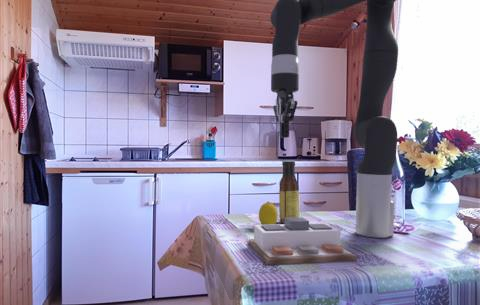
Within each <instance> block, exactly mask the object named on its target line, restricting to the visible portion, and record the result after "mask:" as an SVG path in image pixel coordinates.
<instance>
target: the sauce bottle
mask: <svg viewBox="0 0 480 305" xmlns="http://www.w3.org/2000/svg"><path fill="white" fill-rule="evenodd" d="M281 164H282V177H281V179H280V181H279V183H278V184H279V191H278V195H279V196H278V197H279V198H278V199H279V204H278V205H279V206H278V207H279V221H280V224H281V223H282V224H285V218H293V217H300V190H299V189H300V188H299V182H298V180H297V177H296V172H295V171H296V170H295V166H296V161H295V160H283V161H282V162H281Z"/></svg>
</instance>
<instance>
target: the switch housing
mask: <svg viewBox="0 0 480 305" xmlns="http://www.w3.org/2000/svg"><path fill="white" fill-rule="evenodd" d="M316 224H325V225H327V226H329V227H331V228H332V229H329V230H313V229H311V228H310V227H309V230H289V229H287V228H286V227H284V226H285V224H284V223H282V224H281V223H280V224H279V223H278V224H276V223H275V224H272V225H280V226H282V227H283V228H285V231H265V230H264V229H263V228H261V225H262V224H254V225H253V239H254V242H255V243H256V244H257V245H258V246H259V247H260V249H261V250H262V251H268V250H272V247H275V246H288V247H290V248H291V249H292V250H294V249H297V246H303V245H313V246H315V247H316V248H317V249H320V248H322V245H331V244H337V245H339V246H341V236H342V235H341V234H342V233H341V231H342V230H340V229H338V228H336V227H333V226H332V225H330V224H328V223H326V222H325V223H323V222H322V223H316Z"/></svg>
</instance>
